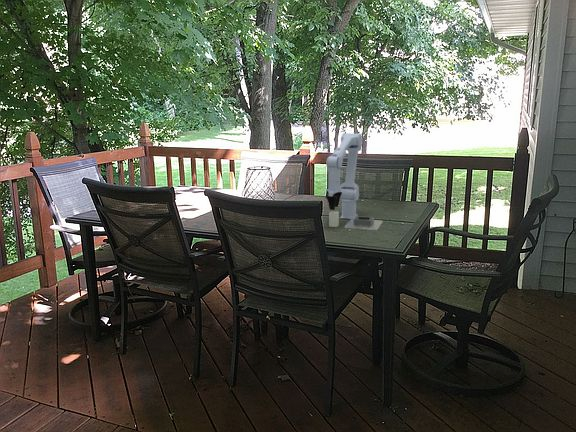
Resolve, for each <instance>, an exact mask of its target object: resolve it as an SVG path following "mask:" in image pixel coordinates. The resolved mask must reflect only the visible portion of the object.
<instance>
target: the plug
mask: <svg viewBox="0 0 576 432" xmlns="http://www.w3.org/2000/svg"><path fill="white" fill-rule="evenodd" d="M339 225H340V211H334V210H330V212H329V213H328V227H329V228H338V227H339Z"/></svg>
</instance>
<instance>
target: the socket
mask: <svg viewBox="0 0 576 432" xmlns="http://www.w3.org/2000/svg"><path fill="white" fill-rule="evenodd" d="M382 224H383V220H379V219H378V220H377V219H375V217H374V216H363V215H362V216H361V215H358V216H357V217H356V218H355V219H349V221H348V222H347V223H346V224H345V225H344V229H354V230H366V231H367V230H368V231H378V230H379V229H380V227H381V226H382Z"/></svg>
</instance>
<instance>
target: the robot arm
mask: <svg viewBox="0 0 576 432" xmlns="http://www.w3.org/2000/svg"><path fill="white" fill-rule="evenodd" d="M362 147H363V135H362V134H361V133H360V132H358V133H345V132H344V133H342V134H341V137H340V145H339V146H338V147H336V148H335V150H334V151H333V152H332V154H331V155H329V156H328V157H327V158H326V161H325V163H326V168H327V173H328V175H327V176H328V177H327V178H328V179H327V180H328V182H327V183H328V185H327V189H325V192H328V194H326V195H325V199H326V200H327V204H328V207H329V210H330V211H334V210H336V208H338V207H339V205H340V201H341V215H339V219H345V220H346V219H348V220H351V219H355V218H356V217H357V216H359V214H357V201H358V199H359V198H360V188H359V186H358V184H357V183H356V182H355V180H356V173H357V172H356V170H357V165H358V164H357V163H358V155H359V154H358V153H359V151H362ZM347 152H348V154H347ZM346 155H348V156H347V164H346V173H345V180H344V182H343V183H341V168H342V166H343V162H344V158H345V157H346Z"/></svg>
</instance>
